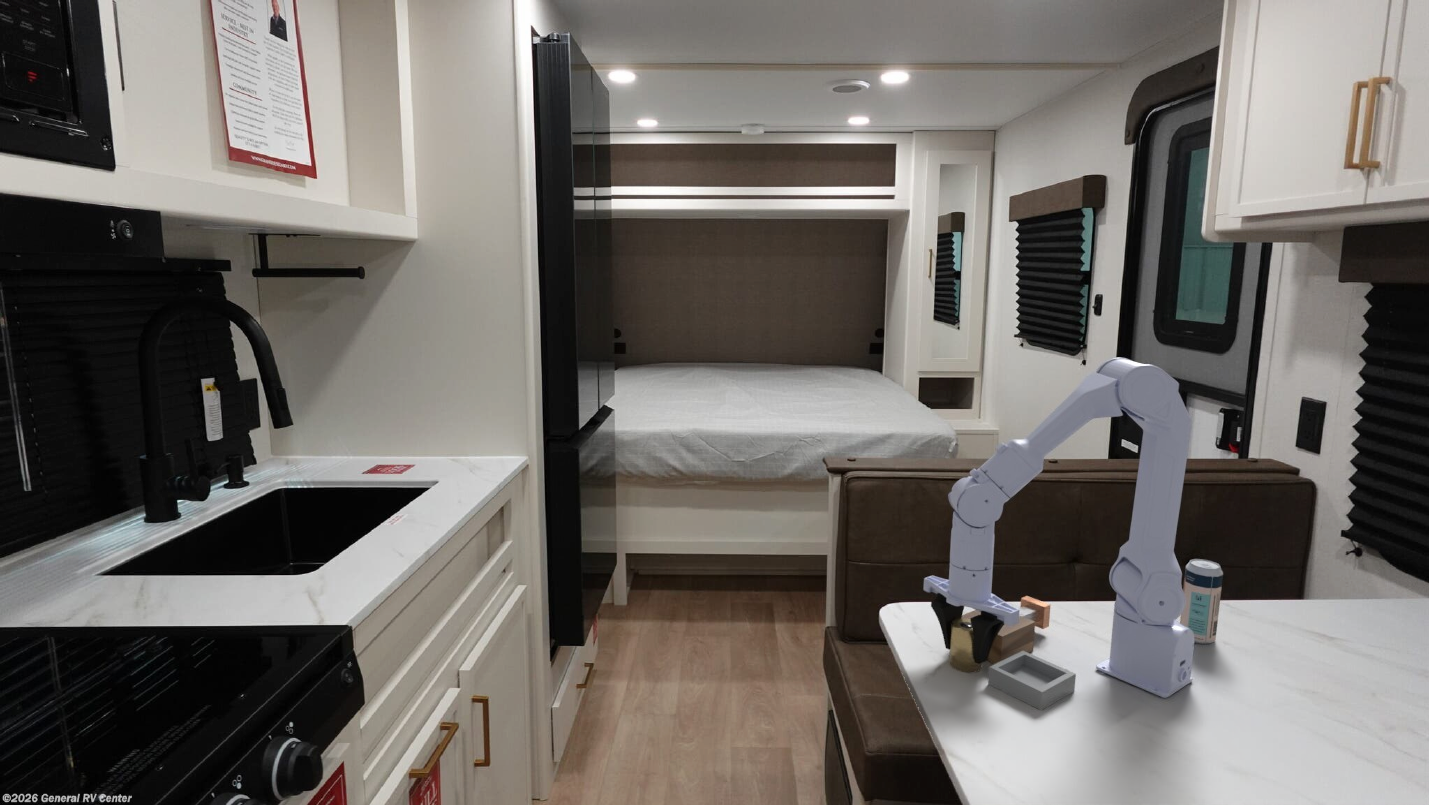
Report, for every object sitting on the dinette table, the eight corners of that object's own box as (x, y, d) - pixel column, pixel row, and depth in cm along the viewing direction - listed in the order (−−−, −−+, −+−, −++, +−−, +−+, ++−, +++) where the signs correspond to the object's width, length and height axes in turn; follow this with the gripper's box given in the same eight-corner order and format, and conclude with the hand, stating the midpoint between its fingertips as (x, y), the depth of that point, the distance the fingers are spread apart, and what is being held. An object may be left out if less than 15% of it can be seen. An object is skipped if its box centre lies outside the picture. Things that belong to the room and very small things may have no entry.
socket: (1074, 691, 102) (1075, 673, 101) (1040, 710, 97) (1042, 692, 97) (1021, 667, 108) (1022, 650, 108) (988, 683, 104) (989, 666, 103)
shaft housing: (1033, 650, 113) (1035, 621, 112) (1000, 666, 108) (1002, 636, 107) (988, 631, 119) (990, 603, 118) (956, 645, 114) (957, 617, 114)
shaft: (1048, 626, 118) (1050, 604, 117) (1012, 643, 112) (1013, 620, 112) (1025, 617, 121) (1027, 595, 121) (988, 633, 116) (989, 611, 115)
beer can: (1205, 631, 119) (1213, 558, 117) (1222, 646, 114) (1230, 570, 112) (1172, 630, 119) (1180, 557, 117) (1188, 645, 114) (1196, 569, 112)
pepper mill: (988, 666, 108) (990, 626, 107) (968, 675, 106) (971, 635, 105) (962, 654, 112) (964, 615, 111) (942, 662, 109) (944, 623, 108)
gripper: (911, 554, 110) (907, 641, 112) (999, 587, 98) (993, 684, 100) (942, 544, 114) (938, 629, 116) (1031, 574, 102) (1024, 668, 104)
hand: (966, 654), depth 109 cm, fingers closed on pepper mill, 4 cm apart
